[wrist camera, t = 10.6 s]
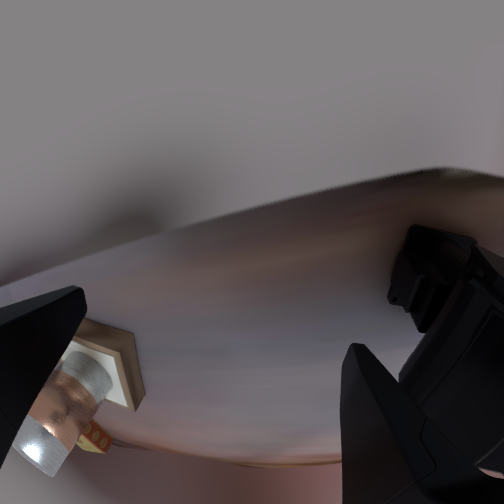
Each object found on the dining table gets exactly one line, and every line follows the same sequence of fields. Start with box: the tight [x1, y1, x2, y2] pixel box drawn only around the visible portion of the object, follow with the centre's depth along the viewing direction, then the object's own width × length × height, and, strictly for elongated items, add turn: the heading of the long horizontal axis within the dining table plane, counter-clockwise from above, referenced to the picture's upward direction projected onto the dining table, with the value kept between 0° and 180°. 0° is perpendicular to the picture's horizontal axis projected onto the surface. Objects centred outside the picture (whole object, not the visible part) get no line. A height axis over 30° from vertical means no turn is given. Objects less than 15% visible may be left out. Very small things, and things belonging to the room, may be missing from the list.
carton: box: [76, 419, 114, 453], centre depth 37 cm, size 8×16×4 cm, turn 28°
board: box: [59, 318, 145, 412], centre depth 28 cm, size 10×10×3 cm
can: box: [12, 351, 112, 477], centre depth 21 cm, size 6×6×13 cm
